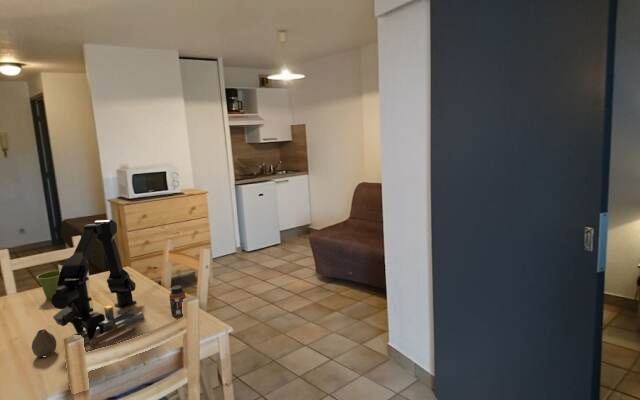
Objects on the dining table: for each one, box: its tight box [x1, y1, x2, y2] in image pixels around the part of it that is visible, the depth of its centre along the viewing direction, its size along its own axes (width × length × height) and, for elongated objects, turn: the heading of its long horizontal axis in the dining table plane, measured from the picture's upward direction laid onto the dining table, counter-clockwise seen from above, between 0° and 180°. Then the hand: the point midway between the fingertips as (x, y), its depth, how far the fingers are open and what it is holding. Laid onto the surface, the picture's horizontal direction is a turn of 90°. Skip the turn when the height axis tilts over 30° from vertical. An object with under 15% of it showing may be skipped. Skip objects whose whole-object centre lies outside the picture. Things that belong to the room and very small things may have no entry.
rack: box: [89, 324, 137, 349], centre depth 147 cm, size 7×13×2 cm, turn 149°
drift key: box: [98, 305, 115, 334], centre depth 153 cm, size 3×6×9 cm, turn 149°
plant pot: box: [36, 269, 62, 300], centre depth 190 cm, size 12×12×11 cm
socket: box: [97, 308, 145, 333], centre depth 158 cm, size 8×16×5 cm, turn 149°
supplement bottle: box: [169, 285, 186, 317], centre depth 164 cm, size 6×6×11 cm
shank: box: [71, 327, 101, 344], centre depth 147 cm, size 3×9×4 cm, turn 147°
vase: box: [31, 328, 57, 358], centre depth 138 cm, size 7×7×9 cm
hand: (85, 337), depth 147 cm, fingers open, 6 cm apart
